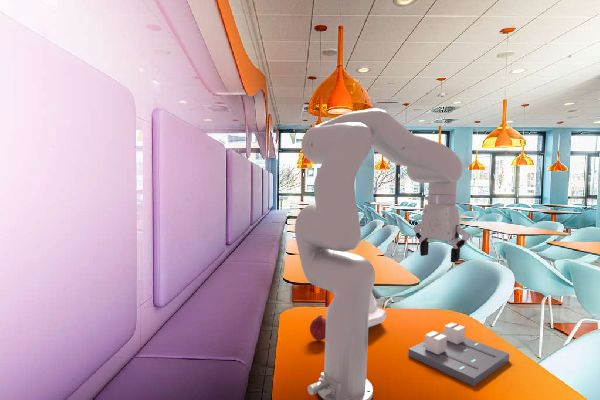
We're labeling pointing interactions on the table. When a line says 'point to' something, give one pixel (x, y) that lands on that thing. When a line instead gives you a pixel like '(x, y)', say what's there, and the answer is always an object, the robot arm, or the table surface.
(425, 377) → the table surface
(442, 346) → the fader
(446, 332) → the fader
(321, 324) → the onion
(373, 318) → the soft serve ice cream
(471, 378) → the console
